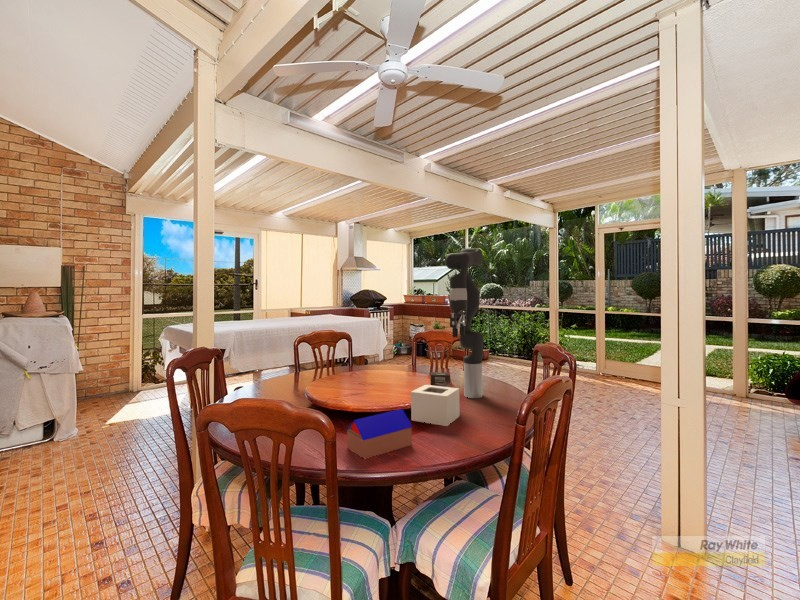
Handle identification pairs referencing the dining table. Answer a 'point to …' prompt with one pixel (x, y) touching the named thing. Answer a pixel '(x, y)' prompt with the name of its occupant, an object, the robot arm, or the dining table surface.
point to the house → (379, 433)
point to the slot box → (435, 405)
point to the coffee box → (440, 379)
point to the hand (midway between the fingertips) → (458, 336)
